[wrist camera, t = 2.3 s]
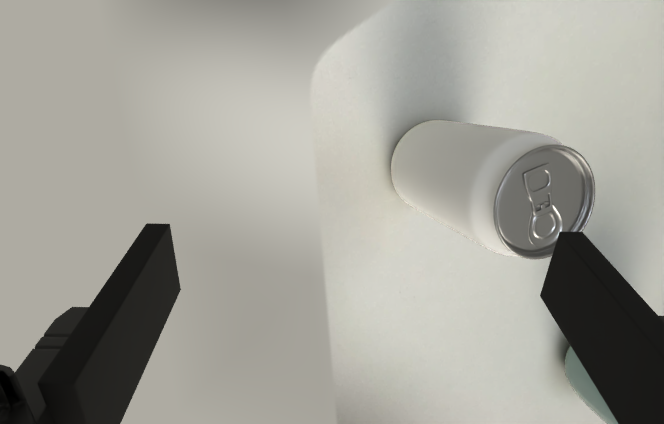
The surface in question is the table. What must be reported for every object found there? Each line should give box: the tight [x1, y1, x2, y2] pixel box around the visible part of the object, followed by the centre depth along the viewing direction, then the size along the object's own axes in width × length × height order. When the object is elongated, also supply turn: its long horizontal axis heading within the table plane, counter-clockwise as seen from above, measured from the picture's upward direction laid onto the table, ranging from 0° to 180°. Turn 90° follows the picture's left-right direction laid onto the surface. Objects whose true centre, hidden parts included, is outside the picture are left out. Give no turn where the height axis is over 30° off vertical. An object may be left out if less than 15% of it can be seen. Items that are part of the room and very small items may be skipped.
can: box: [391, 120, 595, 259], centre depth 28 cm, size 6×6×12 cm
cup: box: [564, 345, 618, 424], centre depth 37 cm, size 8×8×10 cm
